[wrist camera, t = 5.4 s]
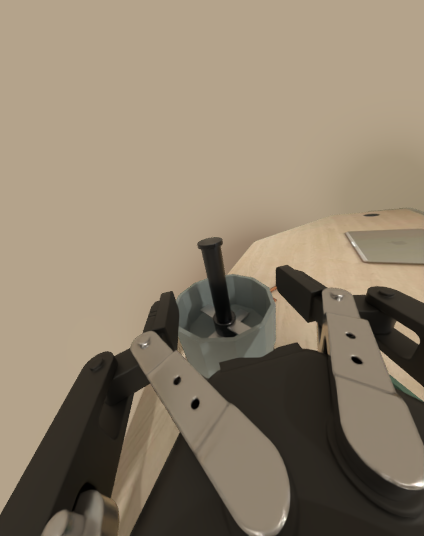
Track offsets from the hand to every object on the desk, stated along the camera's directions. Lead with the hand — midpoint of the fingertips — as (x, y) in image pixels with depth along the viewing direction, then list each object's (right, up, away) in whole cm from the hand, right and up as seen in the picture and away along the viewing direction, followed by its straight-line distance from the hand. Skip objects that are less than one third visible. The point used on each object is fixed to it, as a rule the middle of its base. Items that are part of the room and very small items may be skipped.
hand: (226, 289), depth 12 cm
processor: (+3, -17, +15) cm, 23 cm away
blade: (+1, -8, +11) cm, 14 cm away
